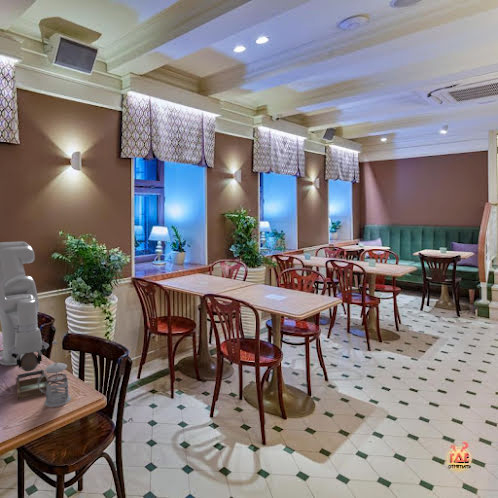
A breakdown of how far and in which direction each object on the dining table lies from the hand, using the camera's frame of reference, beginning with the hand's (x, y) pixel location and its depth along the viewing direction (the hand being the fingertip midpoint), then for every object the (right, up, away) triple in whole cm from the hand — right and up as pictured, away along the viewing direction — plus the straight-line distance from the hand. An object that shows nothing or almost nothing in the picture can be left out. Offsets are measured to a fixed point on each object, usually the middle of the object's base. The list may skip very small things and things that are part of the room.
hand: (29, 364), depth 169 cm
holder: (+8, -8, -11) cm, 15 cm away
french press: (+22, -9, -19) cm, 30 cm away
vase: (0, -3, 0) cm, 3 cm away
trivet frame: (+1, -6, 0) cm, 7 cm away
